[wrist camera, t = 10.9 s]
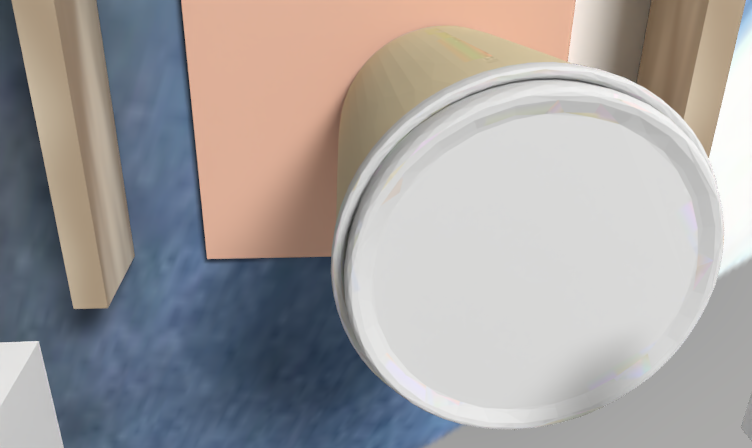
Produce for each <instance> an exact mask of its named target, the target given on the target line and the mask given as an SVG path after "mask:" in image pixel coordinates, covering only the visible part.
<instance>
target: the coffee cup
mask: <svg viewBox="0 0 752 448" xmlns="http://www.w3.org/2000/svg"><path fill="white" fill-rule="evenodd" d="M723 243H724V222H723V212H722V206H721V200H720V195H719V192H718V187H717V182H716V178H715V175H714V172H713V169H712V166H711V163H710V161H709V158H708V156H707V154H706V152H705V150H704V148H703V146H702V144H701V143H700V141H699V140H698V138H697V137H696V135H695V133H694V132H693V130H692V129H691V128H690V127H689V126H688V124H687V123H686V122H685V121H684V120H683V119H682V117H681V116H680V115H679V114H678V113H677V112H676V111H674V110H673V109H672V108H671V107H670V106H669V105H668V104H667V103H665V102H664V101H663V100H662V99H661V98H659V97H658V96H656V95H655V94H653V93H652V92H650V91H649V90H647V89H646V88H644V87H642V86H640V85H638V84H636V83H634V82H632V81H630V80H628V79H626V78H624V77H621V76H618V75H615V74H612V73H610V72H607V71H604V70H600V69H596V68H591V67H587V66H582V65H577V64H571V63H569V62H566V61H564V60H561V59H559V58H556V57H553V56H551V55H548V54H545V53H542V52H540V51H537V50H534V49H531V48H528V47H526V46H523V45H520V44H517V43H514V42H511V41H509V40H506V39H503V38H500V37H497V36H495V35H492V34H489V33H485V32H482V31H478V30H474V29H470V28H466V27H459V26H431V27H426V28H421V29H418V30H414V31H411V32H408V33H406V34H404V35H401V36H399V37H398V38H396V39H394V40H392V41H391V42H389V43H387V44H386V45H384V46H383V47H382V48H381V49H379V50H378V51H377V52H376V53H375V54H374V55H373V56H371V57H370V58H369V60H368V61H367V62H366V63H365V64H364V65H363V67H362V68H361V69H360V71H359V72H358V74H357V75H356V77H355V78H354V80H353V82H352V84H351V86H350V87H349V90H348V93H347V95H346V98H345V100H344V104H343V108H342V112H341V119H340V127H339V138H338V165H337V203H336V225H335V231H334V237H333V244H332V252H331V278H332V289H333V294H334V299H335V303H336V308H337V311H338V314H339V316H340V319H341V322H342V325H343V327H344V330H345V332H346V334H347V336H348V338H349V340H350V342H351V344H352V345H353V347H354V348H355V350H356V351H357V353H358V354H359V356H360V357H361V359H362V360H363V361H364V362H365V364H366V365H367V366H368V367H369V368H370V369H371V371H372V372H373V373H374V374H375V375H377V376H378V377H379V378H380V379H381V380H382V381H383V382H384V383H385V384H387V385H388V386H389V387H391V388H392V389H394V390H395V391H396V392H397V393H398V394H399V395H401V396H402V397H404V398H405V399H407V400H408V401H410V402H411V403H413V404H414V405H416V406H418V407H419V408H421V409H423V410H425V411H427V412H429V413H431V414H434V415H436V416H438V417H441V418H443V419H446V420H450V421H453V422H456V423H460V424H464V425H469V426H474V427H479V428H492V429H514V430H515V429H524V428H534V427H541V426H548V425H553V424H557V423H561V422H564V421H568V420H571V419H574V418H577V417H581V416H584V415H586V414H588V413H591V412H593V411H595V410H597V409H600V408H602V407H604V406H606V405H608V404H610V403H612V402H614V401H616V400H618V399H619V398H621V397H622V396H624V395H625V394H627V393H628V392H630V391H631V390H633V389H634V388H636V387H637V386H639V385H640V384H642V383H643V382H644V381H646V380H647V379H648V378H650V377H651V376H652V375H653V374H654V373H655V372H656V371H657V370H658V369H659V368H661V367H662V366H663V365H664V364H665V363H666V362H667V361H668V360H669V359H670V358H671V357H672V356H673V355H674V353H676V351H677V350H678V349H679V348H680V346H681V345H682V344H683V342H684V341H685V340H686V339H687V337H688V336H689V334H690V333H691V331H692V330H693V328H694V326H695V325H696V323H697V322H698V320H699V318H700V316H701V315H702V313H703V311H704V309H705V307H706V305H707V303H708V301H709V298H710V296H711V294H712V291H713V289H714V287H715V284H716V280H717V276H718V273H719V269H720V265H721V259H722V254H723Z"/></svg>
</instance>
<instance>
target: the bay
mask: <svg viewBox="0 0 752 448" xmlns="http://www.w3.org/2000/svg"><path fill="white" fill-rule="evenodd" d="M745 1H746V0H651V5H650V11H649V16H648V22H647V27H646V33H645V38H644V44H643V50H642V55H641V61H640V66H639V72H638V78H637V83H636V84H638V85H640V86H642V87H644V88H646V89H647V90H649V91H650V92H652V93H653V94H655V95H656V96H658V97H659V98H661V99H662V100H663V101H664V102H665V103H667V104H668V105H669V106H670V107H671V108H672V109H673V110H674V111H676V112H677V113H678V114H679V115H680V116H681V117H682V119H683V120H684V121H685V122H686V123H687V124H688V126H689V127H690V128H691V129H692V130H693V132H694V133H695V135H696V137H697V138H698V140H699V141H700V143H701V144H702V146H703V148H704V150H705V152H706V154H707V156H708V158H709V154H710V150H711V146H712V142H713V137H714V133H715V129H716V125H717V120H718V116H719V112H720V108H721V103H722V99H723V95H724V91H725V86H726V82H727V78H728V74H729V69H730V65H731V61H732V57H733V52H734V48H735V44H736V40H737V35H738V31H739V27H740V23H741V18H742V14H743V10H744V6H745ZM12 5H13V10H14V15H15V20H16V25H17V30H18V35H19V40H20V45H21V50H22V55H23V60H24V65H25V70H26V75H27V80H28V85H29V90H30V95H31V100H32V105H33V109H34V114H35V119H36V124H37V129H38V134H39V139H40V144H41V149H42V154H43V159H44V164H45V169H46V174H47V179H48V184H49V189H50V194H51V199H52V204H53V209H54V214H55V219H56V224H57V229H58V234H59V239H60V244H61V249H62V254H63V259H64V264H65V269H66V274H67V278H68V283H69V288H70V293H71V298H72V303H73V308H74V309H93V308H108V307H109V305H110V303H111V301H112V299H113V297H114V295H115V293H116V291H117V289H118V287H119V285H120V284H121V282H122V280H123V278H124V276H125V274H126V272H127V270H128V268H129V266H130V264H131V262H132V260H133V258H134V256H135V255H134V248H133V241H132V235H131V228H130V221H129V215H128V208H127V202H126V195H125V188H124V182H123V175H122V168H121V162H120V155H119V149H118V142H117V135H116V129H115V122H114V115H113V109H112V102H111V96H110V89H109V82H108V76H107V69H106V62H105V56H104V49H103V42H102V36H101V29H100V23H99V16H98V9H97V3H96V0H12Z"/></svg>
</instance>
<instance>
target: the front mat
mask: <svg viewBox="0 0 752 448" xmlns="http://www.w3.org/2000/svg"><path fill="white" fill-rule="evenodd" d="M575 2H576V0H181V4H182V14H183V24H184V34H185V44H186V53H187V63H188V73H189V83H190V93H191V103H192V113H193V123H194V133H195V143H196V153H197V163H198V173H199V183H200V193H201V203H202V213H203V223H204V233H205V243H206V253H207V259H233V258H285V257H331V252H332V244H333V237H334V231H335V225H336V203H337V165H338V138H339V127H340V119H341V112H342V108H343V104H344V100H345V98H346V95H347V93H348V90H349V87H350V86H351V84H352V82H353V80H354V78H355V77H356V75H357V74H358V72H359V71H360V69H361V68H362V67H363V65H364V64H365V63H366V62H367V61H368V60H369V58H370V57H371V56H373V55H374V54H375V53H376V52H377V51H378V50H379V49H381V48H382V47H383V46H384V45H386V44H387V43H389V42H391V41H392V40H394V39H396V38H398V37H399V36H401V35H404V34H406V33H408V32H411V31H414V30H418V29H421V28H426V27H431V26H459V27H466V28H470V29H474V30H478V31H482V32H485V33H489V34H492V35H495V36H497V37H500V38H503V39H506V40H509V41H511V42H514V43H517V44H520V45H523V46H526V47H528V48H531V49H534V50H537V51H540V52H542V53H545V54H548V55H551V56H553V57H556V58H559V59H561V60H564V61H566V62H567V61H568V54H569V46H570V39H571V31H572V24H573V17H574V9H575Z"/></svg>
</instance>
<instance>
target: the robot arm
mask: <svg viewBox="0 0 752 448" xmlns="http://www.w3.org/2000/svg"><path fill="white" fill-rule="evenodd" d="M741 429H742V430H743V431H744V432H745V434H746V435H747V436H748V437H749V438H750V440H751V441H752V394H751V397H750V400H749V403H748V406H747V410H746V413H745V416H744V419H743V422H742V425H741ZM0 448H64V447H63V443H62V438H61V434H60V430H59V426H58V421H57V417H56V413H55V408H54V404H53V400H52V396H51V391H50V387H49V383H48V379H47V374H46V370H45V366H44V361H43V357H42V353H41V349H40V344H39V341H30V342H5V343H0Z"/></svg>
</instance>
